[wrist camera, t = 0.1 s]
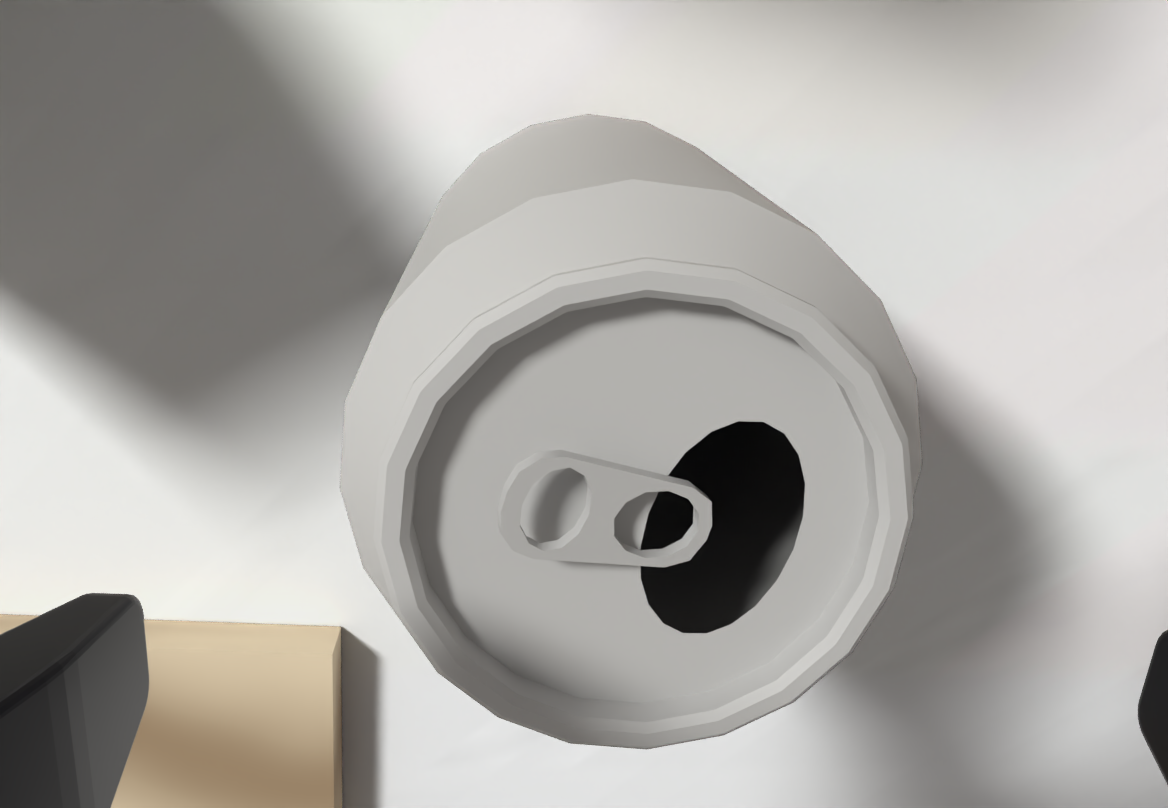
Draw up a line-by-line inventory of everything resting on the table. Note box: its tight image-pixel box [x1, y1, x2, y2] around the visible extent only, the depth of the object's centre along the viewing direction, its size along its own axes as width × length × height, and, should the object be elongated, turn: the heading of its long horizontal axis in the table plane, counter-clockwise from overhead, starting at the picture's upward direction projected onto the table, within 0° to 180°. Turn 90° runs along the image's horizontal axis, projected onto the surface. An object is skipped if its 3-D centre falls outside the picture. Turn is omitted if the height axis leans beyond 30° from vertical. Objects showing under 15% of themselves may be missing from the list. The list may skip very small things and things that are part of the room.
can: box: [340, 114, 922, 749], centre depth 17 cm, size 8×8×12 cm
